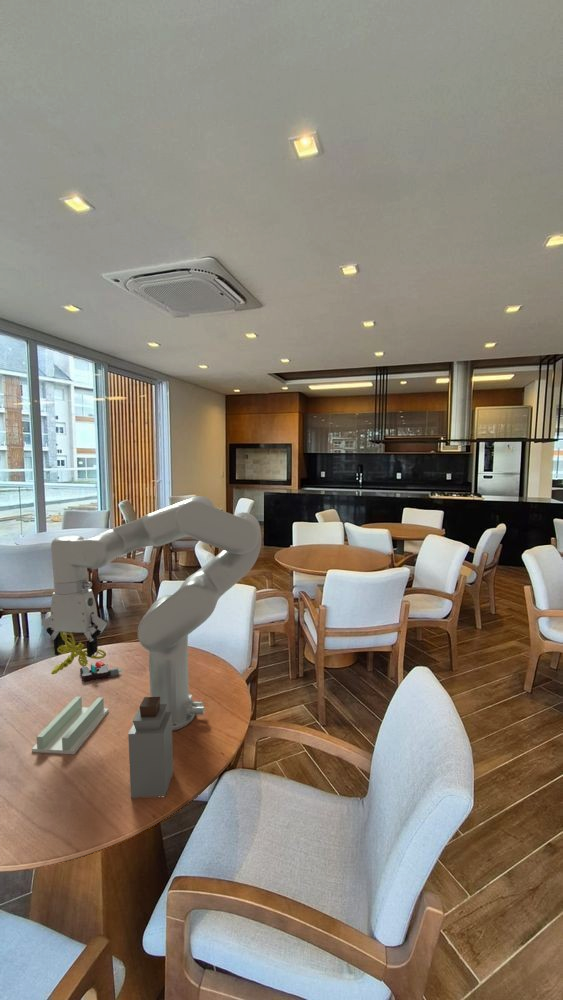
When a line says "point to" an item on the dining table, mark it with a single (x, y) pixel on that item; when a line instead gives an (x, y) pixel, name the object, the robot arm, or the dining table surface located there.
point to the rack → (71, 727)
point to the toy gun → (97, 672)
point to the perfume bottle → (151, 749)
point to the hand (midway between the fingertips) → (76, 653)
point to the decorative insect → (74, 653)
